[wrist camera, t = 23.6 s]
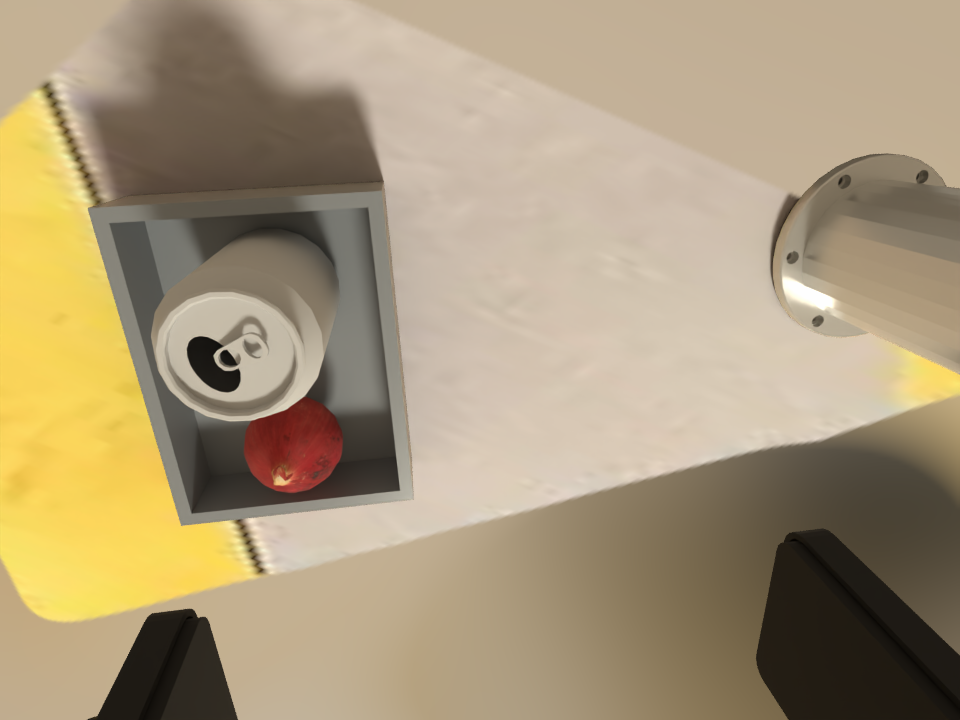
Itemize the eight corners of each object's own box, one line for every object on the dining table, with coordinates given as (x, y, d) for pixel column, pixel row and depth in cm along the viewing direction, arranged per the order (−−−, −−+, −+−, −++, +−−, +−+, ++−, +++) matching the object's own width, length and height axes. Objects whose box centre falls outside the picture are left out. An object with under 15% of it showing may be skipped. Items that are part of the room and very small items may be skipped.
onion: (362, 400, 40) (354, 464, 33) (323, 464, 41) (307, 539, 34) (281, 361, 38) (254, 420, 31) (243, 430, 40) (209, 501, 32)
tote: (383, 181, 36) (381, 190, 31) (411, 458, 43) (413, 499, 39) (129, 195, 34) (87, 208, 29) (205, 480, 42) (181, 525, 37)
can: (188, 261, 35) (95, 327, 24) (299, 202, 35) (255, 243, 24) (261, 362, 38) (207, 463, 27) (363, 310, 38) (351, 390, 27)
